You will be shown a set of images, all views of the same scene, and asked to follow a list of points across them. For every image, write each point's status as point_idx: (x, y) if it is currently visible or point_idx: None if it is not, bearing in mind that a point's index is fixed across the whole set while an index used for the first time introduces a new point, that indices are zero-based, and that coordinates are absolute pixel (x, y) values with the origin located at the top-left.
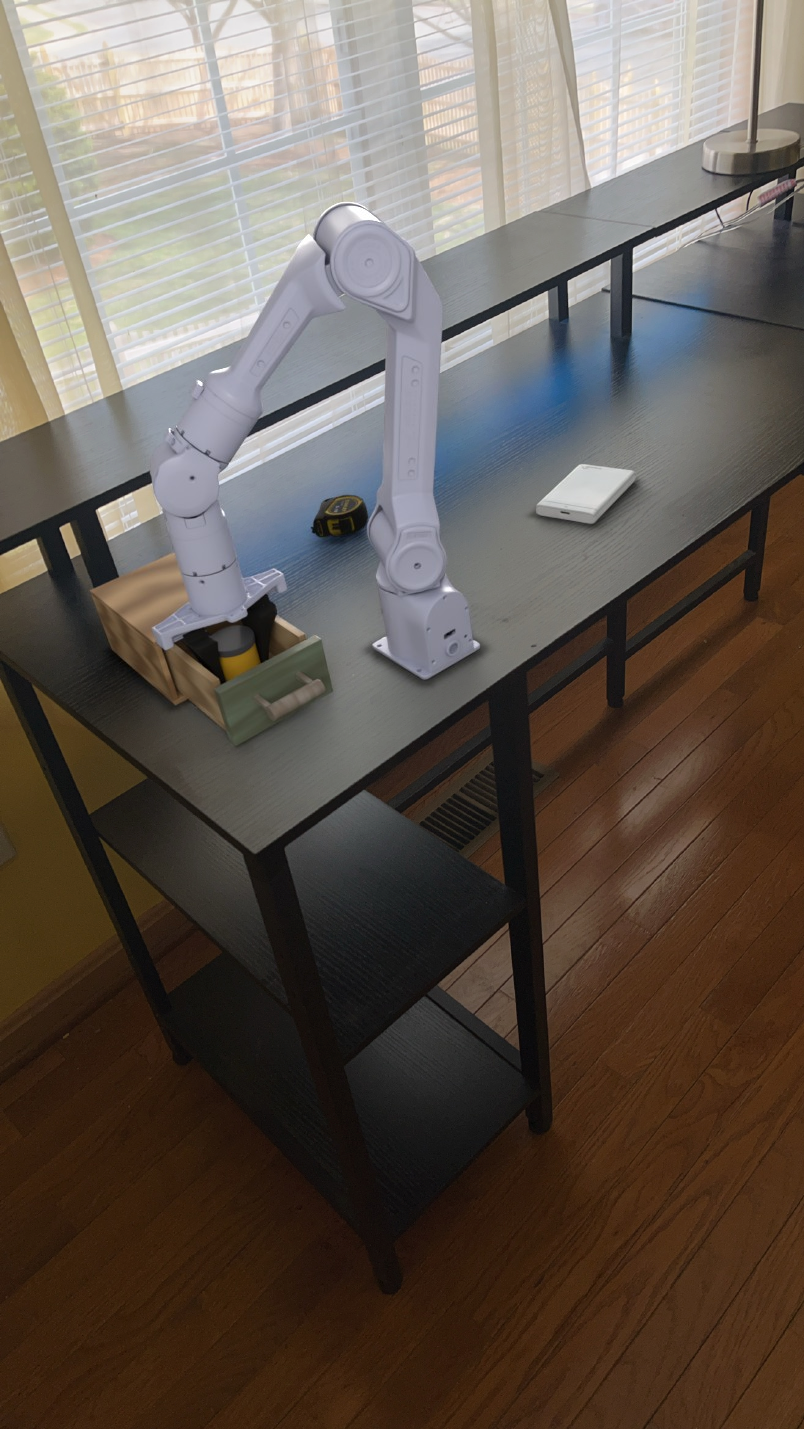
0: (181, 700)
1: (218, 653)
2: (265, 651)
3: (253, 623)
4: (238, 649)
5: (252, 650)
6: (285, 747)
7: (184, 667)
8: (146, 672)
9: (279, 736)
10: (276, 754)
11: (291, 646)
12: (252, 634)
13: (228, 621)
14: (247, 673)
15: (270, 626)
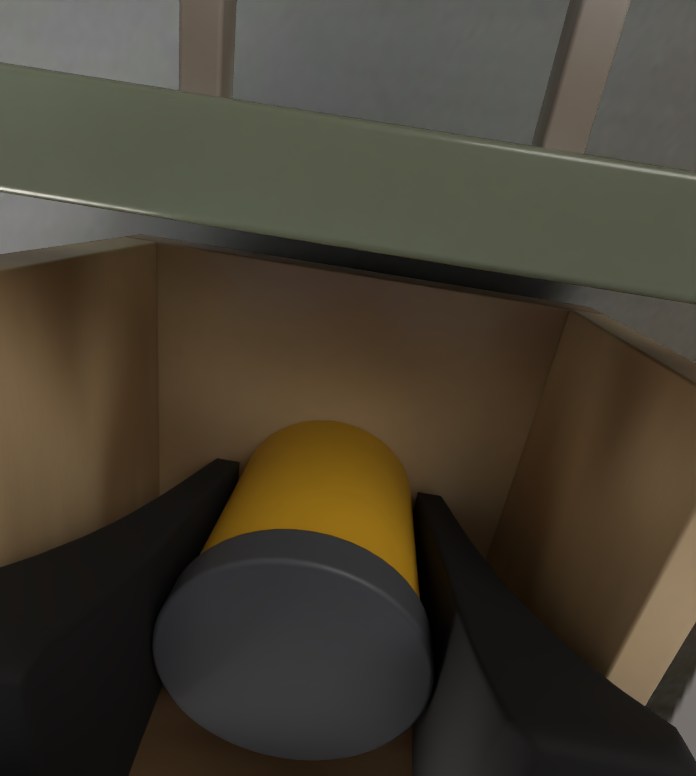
0: None
1: (468, 631)
2: (190, 491)
3: (115, 660)
4: (337, 567)
5: (252, 521)
6: (501, 36)
7: None
8: None
9: (455, 133)
10: (560, 31)
11: (71, 384)
12: (180, 599)
13: (176, 743)
14: (597, 235)
15: (48, 560)
